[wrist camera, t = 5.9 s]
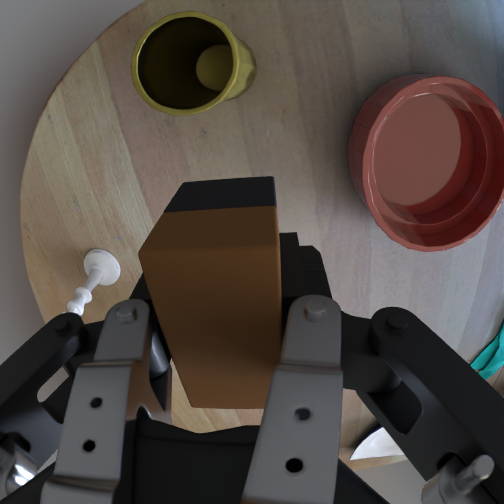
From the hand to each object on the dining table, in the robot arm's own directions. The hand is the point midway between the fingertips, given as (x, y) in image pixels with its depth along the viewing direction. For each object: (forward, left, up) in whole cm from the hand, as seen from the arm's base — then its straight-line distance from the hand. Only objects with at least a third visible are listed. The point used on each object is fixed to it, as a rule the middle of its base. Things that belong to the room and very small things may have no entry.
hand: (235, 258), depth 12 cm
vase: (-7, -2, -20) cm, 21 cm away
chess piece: (+12, -19, -20) cm, 30 cm away
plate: (+60, +28, -20) cm, 69 cm away
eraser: (0, 0, 0) cm, 0 cm away
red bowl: (+1, +17, -19) cm, 26 cm away
